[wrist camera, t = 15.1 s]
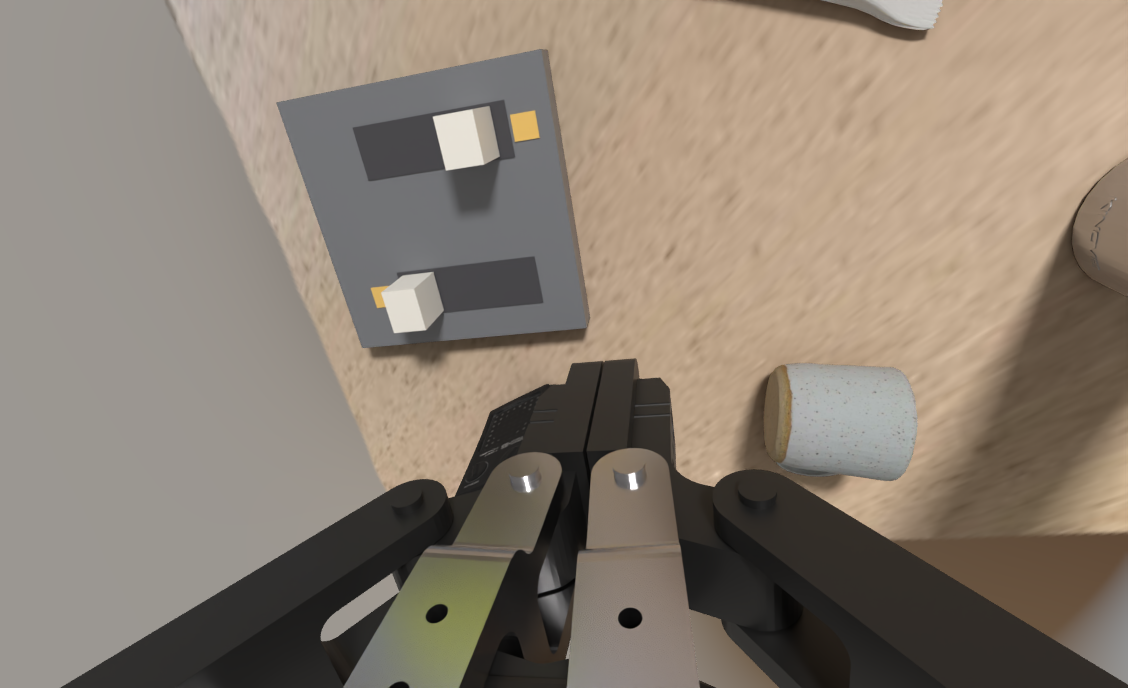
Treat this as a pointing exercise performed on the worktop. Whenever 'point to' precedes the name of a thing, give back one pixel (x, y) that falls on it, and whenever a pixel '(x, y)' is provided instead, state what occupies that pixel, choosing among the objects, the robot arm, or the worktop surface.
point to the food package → (899, 11)
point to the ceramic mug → (840, 420)
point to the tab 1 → (413, 302)
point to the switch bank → (445, 200)
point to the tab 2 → (466, 138)
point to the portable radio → (499, 439)
